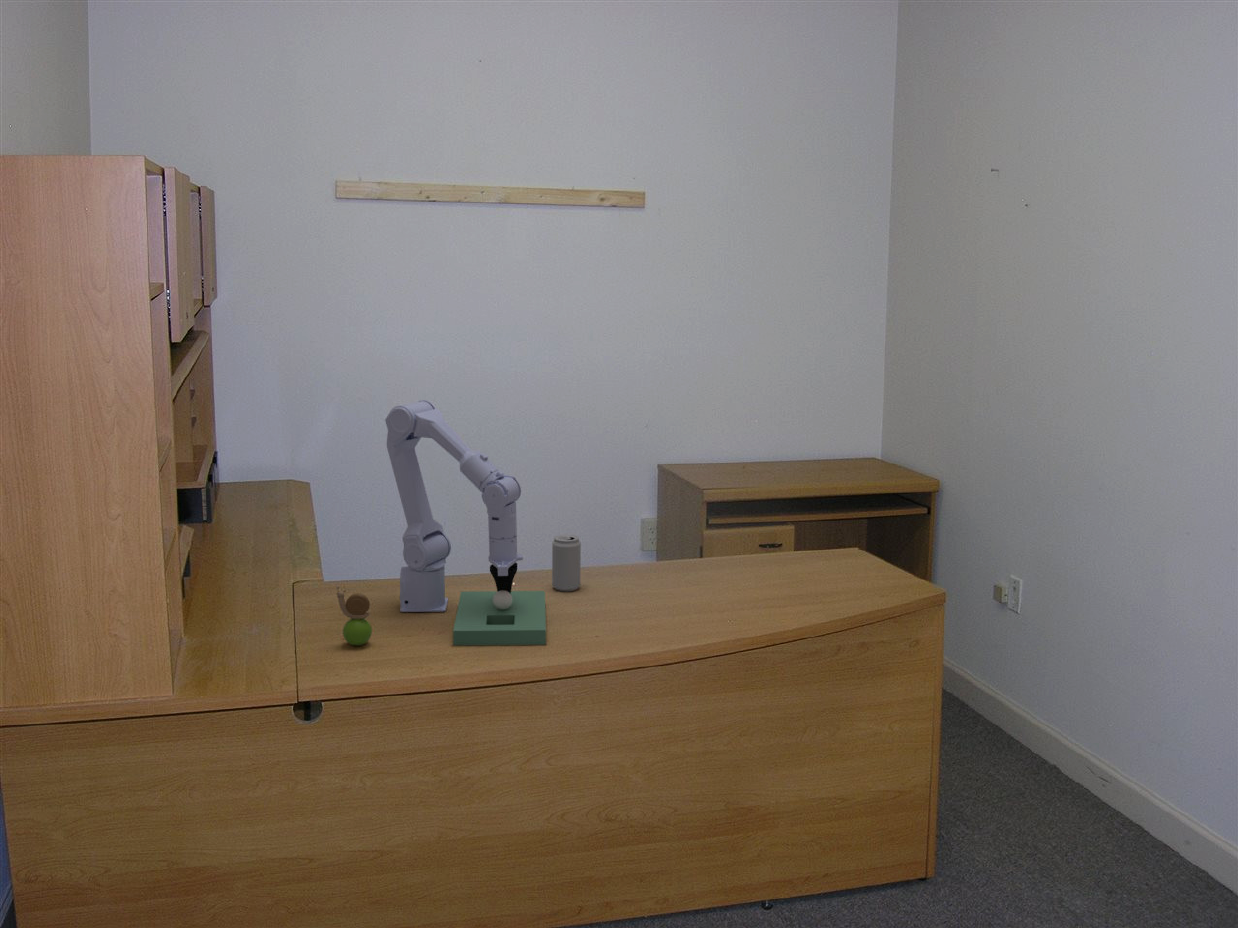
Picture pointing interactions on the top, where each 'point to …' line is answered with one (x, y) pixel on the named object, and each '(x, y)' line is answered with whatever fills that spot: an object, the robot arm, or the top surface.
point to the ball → (502, 599)
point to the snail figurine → (355, 618)
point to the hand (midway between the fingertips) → (504, 599)
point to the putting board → (500, 619)
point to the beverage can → (566, 562)
